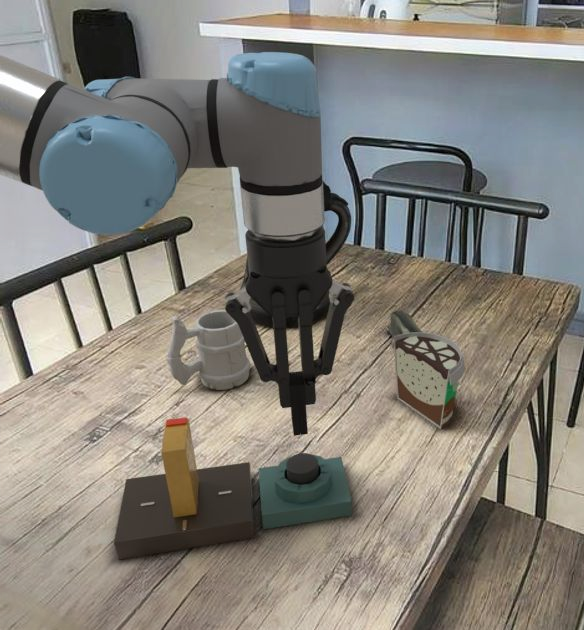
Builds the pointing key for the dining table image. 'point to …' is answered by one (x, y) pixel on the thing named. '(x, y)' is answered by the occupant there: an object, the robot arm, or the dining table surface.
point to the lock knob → (180, 467)
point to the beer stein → (332, 248)
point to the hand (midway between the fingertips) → (299, 427)
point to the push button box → (304, 495)
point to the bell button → (302, 468)
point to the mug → (210, 351)
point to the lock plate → (186, 531)
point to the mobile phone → (401, 324)
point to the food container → (428, 374)
